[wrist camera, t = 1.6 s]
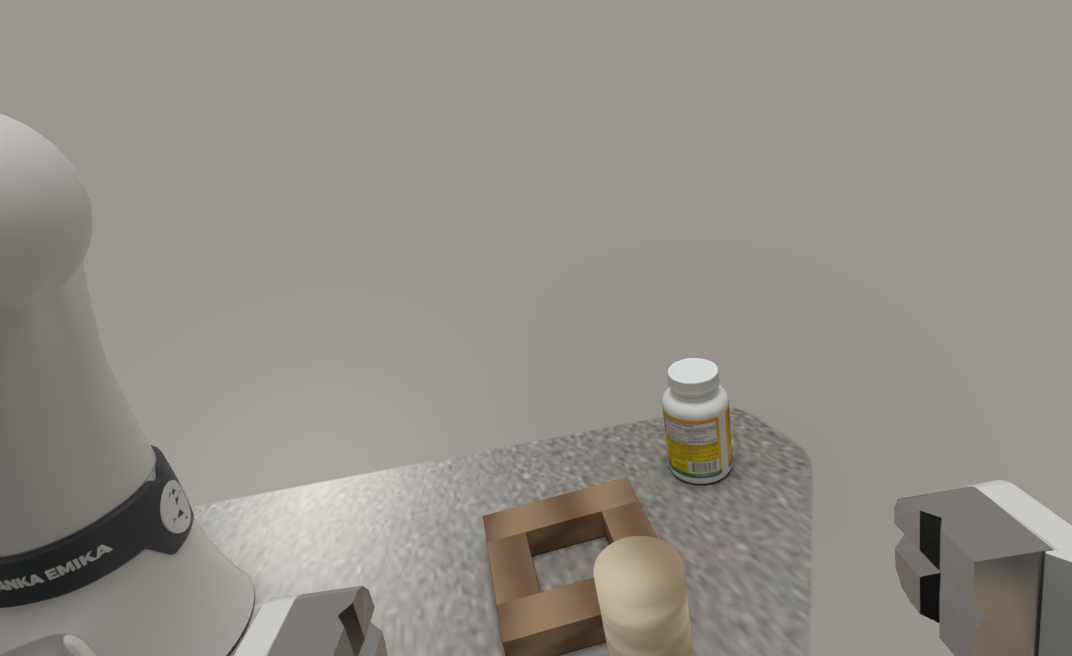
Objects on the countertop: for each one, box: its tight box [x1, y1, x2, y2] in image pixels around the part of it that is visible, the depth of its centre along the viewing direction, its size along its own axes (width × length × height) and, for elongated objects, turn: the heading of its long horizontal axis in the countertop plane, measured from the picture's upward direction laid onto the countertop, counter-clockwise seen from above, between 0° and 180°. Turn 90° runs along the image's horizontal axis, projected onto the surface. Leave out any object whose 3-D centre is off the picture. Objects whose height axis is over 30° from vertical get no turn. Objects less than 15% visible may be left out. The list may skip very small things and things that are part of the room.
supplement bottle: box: [662, 358, 732, 484], centre depth 53 cm, size 5×5×10 cm
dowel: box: [593, 536, 694, 656], centre depth 34 cm, size 4×4×12 cm
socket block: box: [483, 477, 658, 656], centre depth 46 cm, size 12×12×2 cm
